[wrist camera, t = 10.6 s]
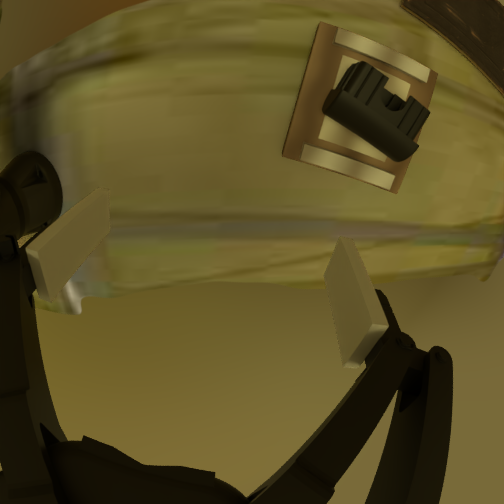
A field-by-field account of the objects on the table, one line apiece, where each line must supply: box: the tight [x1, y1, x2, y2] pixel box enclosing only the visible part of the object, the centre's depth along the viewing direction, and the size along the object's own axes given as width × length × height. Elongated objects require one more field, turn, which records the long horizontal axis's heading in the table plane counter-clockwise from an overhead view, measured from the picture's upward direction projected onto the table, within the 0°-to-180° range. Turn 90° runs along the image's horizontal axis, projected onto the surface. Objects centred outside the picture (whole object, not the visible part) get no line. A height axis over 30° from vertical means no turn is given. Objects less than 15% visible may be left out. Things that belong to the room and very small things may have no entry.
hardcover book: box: [400, 0, 504, 96], centre depth 19 cm, size 16×23×2 cm
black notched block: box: [322, 61, 430, 162], centre depth 26 cm, size 10×7×7 cm
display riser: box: [282, 21, 438, 194], centre depth 30 cm, size 16×18×4 cm
